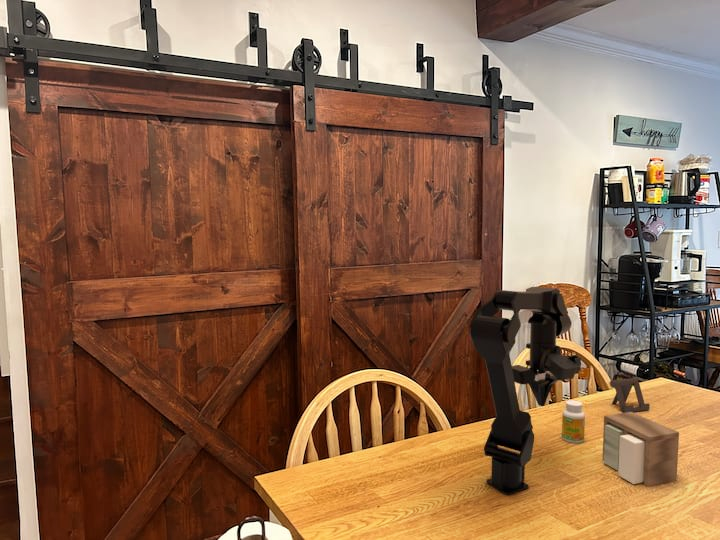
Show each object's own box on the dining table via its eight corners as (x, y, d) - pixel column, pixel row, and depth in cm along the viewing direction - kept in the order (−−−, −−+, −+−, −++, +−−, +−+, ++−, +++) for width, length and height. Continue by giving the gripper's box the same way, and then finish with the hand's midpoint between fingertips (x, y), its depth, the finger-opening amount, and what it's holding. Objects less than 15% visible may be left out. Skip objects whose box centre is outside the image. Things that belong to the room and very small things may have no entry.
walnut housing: (644, 487, 112) (646, 437, 111) (599, 461, 124) (600, 416, 123) (676, 480, 115) (679, 432, 114) (629, 455, 127) (631, 411, 126)
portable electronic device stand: (624, 414, 154) (625, 386, 154) (605, 405, 162) (606, 378, 161) (649, 411, 157) (650, 383, 156) (629, 402, 164) (631, 376, 163)
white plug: (633, 484, 113) (635, 443, 112) (618, 475, 117) (619, 435, 116) (676, 475, 116) (678, 436, 116) (660, 467, 120) (662, 428, 120)
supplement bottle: (560, 441, 136) (561, 404, 135) (563, 433, 140) (564, 398, 140) (583, 445, 133) (584, 407, 132) (585, 437, 138) (586, 401, 137)
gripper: (540, 353, 112) (538, 424, 113) (599, 343, 120) (597, 409, 122) (503, 342, 122) (502, 408, 123) (560, 334, 130) (558, 395, 132)
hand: (541, 405), depth 125 cm, fingers closed
